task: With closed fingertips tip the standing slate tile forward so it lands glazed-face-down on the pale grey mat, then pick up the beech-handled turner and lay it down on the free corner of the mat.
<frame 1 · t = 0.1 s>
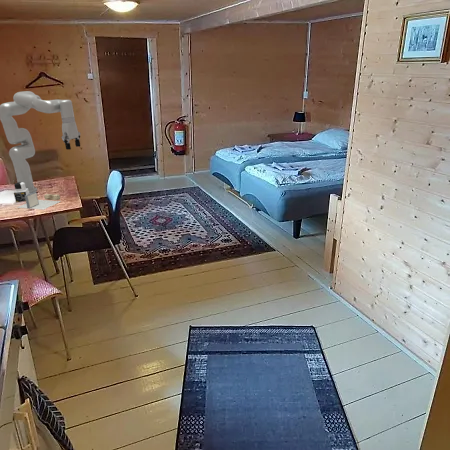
hand: (73, 147, 259), 31 cm above the table, fingers open, 9 cm apart
mat: (39, 205, 252), on the table
turner: (52, 200, 262), on the table
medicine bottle: (23, 201, 263), on the table
tile: (33, 206, 249), point 1 cm above the table, touching mat
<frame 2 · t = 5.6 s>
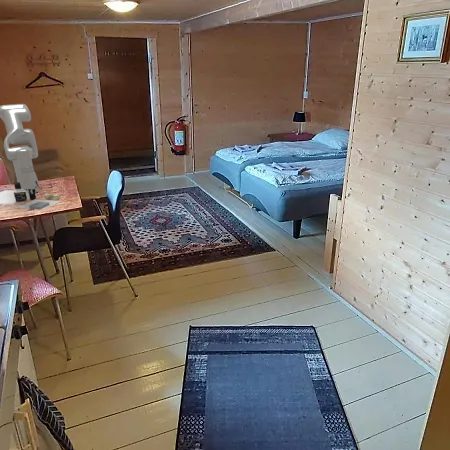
hand: (33, 199, 247), 5 cm above the table, fingers closed
tile: (34, 205, 248), point 1 cm above the table, tilted 90°, touching mat
everything else where it was.
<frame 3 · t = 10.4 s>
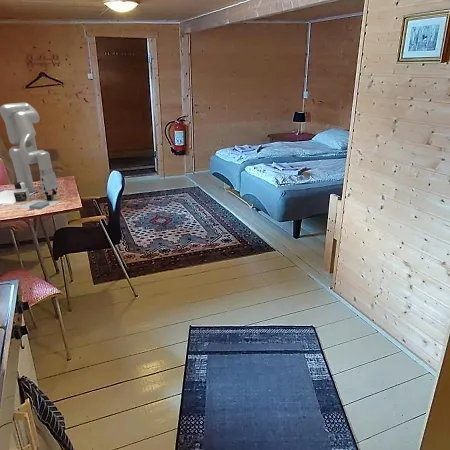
hand: (52, 199, 261), 1 cm above the table, fingers open, 4 cm apart
nothing on the table moved.
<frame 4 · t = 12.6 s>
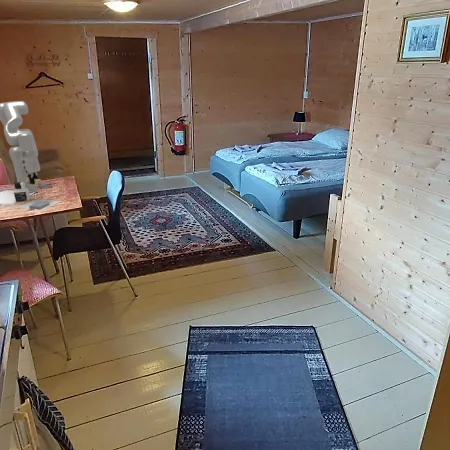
hand: (34, 182, 253), 13 cm above the table, fingers closed on turner
turner: (33, 184, 254), point 12 cm above the table, tilted 10°, touching gripper
everything else where it was.
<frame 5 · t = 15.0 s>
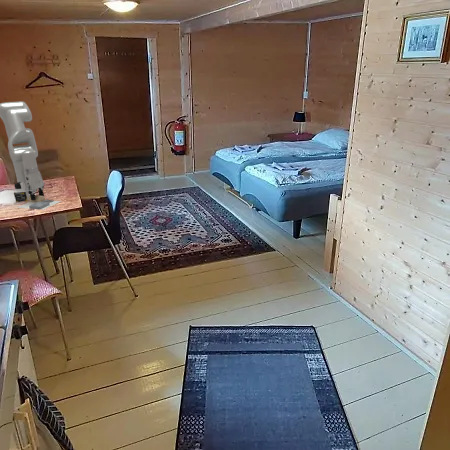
hand: (37, 198, 257), 3 cm above the table, fingers open, 6 cm apart
turner: (37, 201, 258), point 1 cm above the table, touching mat
everything else where it was.
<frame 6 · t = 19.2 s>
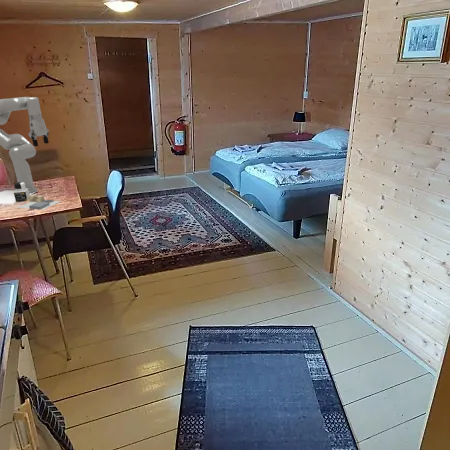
hand: (41, 144, 263), 33 cm above the table, fingers open, 9 cm apart
nothing on the table moved.
at the end: tile tilted 90°; tile inside the target area on the mat (4.0 cm from its centre), point 1.5 cm above the mat's base; turner inside the target area on the mat (1.0 cm from its centre), point 0.6 cm above the mat's base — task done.
